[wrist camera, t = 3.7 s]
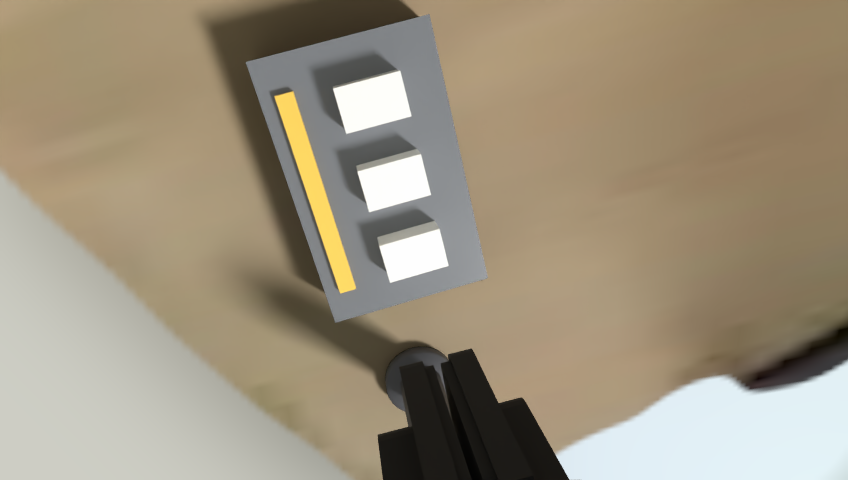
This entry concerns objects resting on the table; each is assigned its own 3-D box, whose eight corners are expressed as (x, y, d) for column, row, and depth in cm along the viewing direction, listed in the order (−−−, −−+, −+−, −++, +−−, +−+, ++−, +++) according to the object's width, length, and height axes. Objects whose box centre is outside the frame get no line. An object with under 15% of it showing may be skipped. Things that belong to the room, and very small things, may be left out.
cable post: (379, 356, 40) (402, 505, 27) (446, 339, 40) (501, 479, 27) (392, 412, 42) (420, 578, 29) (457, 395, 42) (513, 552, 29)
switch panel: (255, 60, 33) (240, 63, 28) (418, 17, 33) (434, 12, 28) (335, 295, 38) (335, 335, 33) (472, 255, 39) (494, 288, 34)
